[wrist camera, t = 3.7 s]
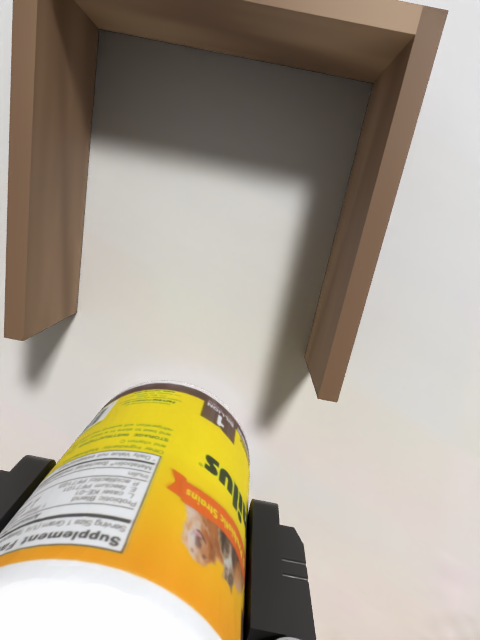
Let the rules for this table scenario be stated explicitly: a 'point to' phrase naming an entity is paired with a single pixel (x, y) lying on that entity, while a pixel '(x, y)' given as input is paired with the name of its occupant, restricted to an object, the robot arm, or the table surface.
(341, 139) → the table surface
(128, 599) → the supplement bottle
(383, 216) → the walnut u rest
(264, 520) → the robot arm
